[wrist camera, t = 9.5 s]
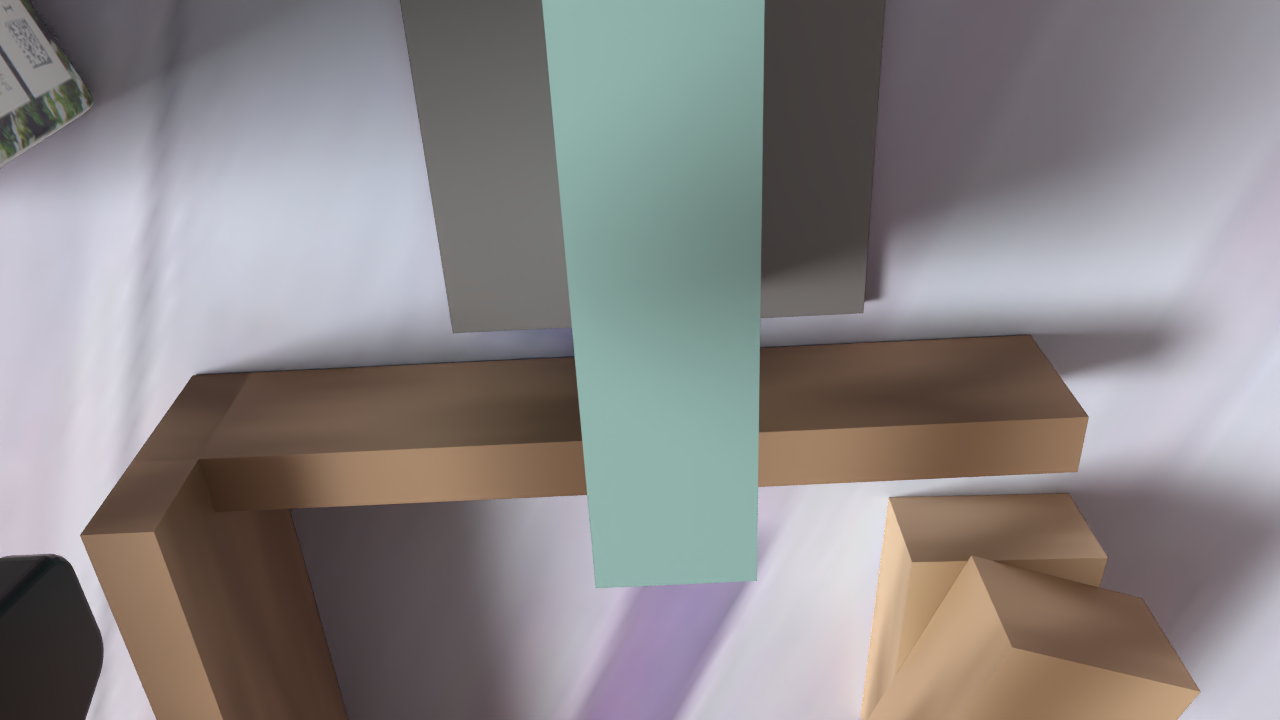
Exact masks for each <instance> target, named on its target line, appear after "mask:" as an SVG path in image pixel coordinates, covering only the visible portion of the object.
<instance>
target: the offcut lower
mask: <svg viewBox="0 0 1280 720" xmlns="http://www.w3.org/2000/svg"><path fill="white" fill-rule="evenodd" d="M971 555H972V556H976V557H980V558H984V559H988V560H992V561H996V562H1000V563H1004V564H1008V565H1012V566H1015V567H1019V568H1023V569H1027V570H1031V571H1035V572H1039V573H1043V574H1047V575H1051V576H1055V577H1059V578H1063V579H1067V580H1071V581H1075V582H1079V583H1083V584H1087V585H1091V586H1095V587H1099V588H1100V585H1101V581H1102V577H1103V574H1104V570H1105V566H1106V563H1107V559H1108V557H1107V555H1106V554H1105V552H1104V550H1103V549H1102V547H1101V546H1100V544H1099V542H1098V541H1097V539H1096V537H1095V536H1094V534H1093V532H1092V531H1091V529H1090V528H1089V526H1088V524H1087V523H1086V521H1085V519H1084V518H1083V516H1082V514H1081V513H1080V511H1079V509H1078V508H1077V506H1076V505H1075V503H1074V501H1073V500H1072V498H1071V496H1070V495H1069V493H1056V494H1014V495H972V496H931V497H889V500H888V507H887V515H886V523H885V530H884V538H883V546H882V554H881V561H880V569H879V577H878V584H877V592H876V600H875V607H874V615H873V623H872V631H871V638H870V646H869V654H868V661H867V669H866V677H865V685H864V692H863V700H862V708H861V719H862V720H868V718H869V717H870V715H871V714H872V712H873V710H874V709H875V707H876V706H877V704H878V703H879V701H880V699H881V698H882V696H883V695H884V693H885V691H886V690H887V688H888V687H889V685H890V684H891V682H892V680H893V679H894V677H895V676H896V674H897V672H898V671H899V669H900V668H901V666H902V665H903V663H904V661H905V660H906V658H907V657H908V655H909V653H910V652H911V650H912V649H913V647H914V646H915V644H916V642H917V641H918V639H919V638H920V636H921V634H922V633H923V631H924V630H925V628H926V627H927V625H928V623H929V622H930V620H931V619H932V617H933V615H934V614H935V612H936V611H937V609H938V607H939V606H940V604H941V603H942V601H943V600H944V598H945V596H946V595H947V593H948V592H949V590H950V588H951V587H952V585H953V584H954V582H955V581H956V579H957V577H958V576H959V574H960V573H961V571H962V569H963V568H964V566H965V565H966V563H967V562H968V560H969V558H970V557H971Z"/></svg>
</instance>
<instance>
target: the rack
mask: <svg viewBox="0 0 1280 720" xmlns="http://www.w3.org/2000/svg"><path fill="white" fill-rule="evenodd" d="M1088 418H1089V417H1088V415H1087V414H1086V412H1085V411H1084V410H1083V408H1082V407H1081V405H1080V404H1079V403H1078V401H1077V400H1076V398H1075V397H1074V396H1073V394H1072V393H1071V391H1070V390H1069V389H1068V387H1067V386H1066V384H1065V383H1064V382H1063V380H1062V379H1061V377H1060V376H1059V375H1058V373H1057V372H1056V370H1055V369H1054V368H1053V366H1052V365H1051V363H1050V362H1049V361H1048V359H1047V358H1046V356H1045V355H1044V354H1043V352H1042V351H1041V349H1040V348H1039V347H1038V345H1037V344H1036V342H1035V341H1034V340H1033V338H1032V337H1031V335H1019V336H999V337H978V338H957V339H937V340H916V341H896V342H875V343H854V344H834V345H813V346H792V347H772V348H760V375H759V448H758V487H765V486H787V485H808V484H829V483H851V482H872V481H893V480H915V479H936V478H957V477H979V476H1000V475H1021V474H1043V473H1064V472H1077V471H1078V466H1079V462H1080V457H1081V452H1082V447H1083V442H1084V437H1085V433H1086V428H1087V423H1088ZM573 495H587V486H586V475H585V464H584V453H583V443H582V432H581V421H580V410H579V399H578V388H577V377H576V366H575V357H565V358H544V359H524V360H503V361H482V362H462V363H441V364H421V365H400V366H379V367H359V368H338V369H317V370H297V371H276V372H255V373H235V374H214V375H193V376H192V377H191V379H190V380H189V382H188V383H187V384H186V386H185V387H184V389H183V390H182V392H181V393H180V394H179V396H178V397H177V399H176V400H175V401H174V403H173V404H172V406H171V407H170V409H169V410H168V411H167V413H166V414H165V416H164V417H163V418H162V420H161V421H160V423H159V424H158V426H157V427H156V428H155V430H154V431H153V433H152V434H151V435H150V437H149V438H148V440H147V441H146V443H145V444H144V445H143V447H142V448H141V450H140V451H139V452H138V454H137V455H136V457H135V458H134V460H133V461H132V462H131V464H130V465H129V467H128V468H127V469H126V471H125V472H124V474H123V475H122V477H121V478H120V479H119V481H118V482H117V484H116V485H115V487H114V488H113V489H112V491H111V492H110V494H109V495H108V496H107V498H106V499H105V501H104V502H103V504H102V505H101V506H100V508H99V509H98V511H97V512H96V513H95V515H94V516H93V518H92V519H91V521H90V522H89V523H88V525H87V526H86V528H85V529H84V530H83V532H82V533H81V535H80V536H81V539H82V541H83V544H84V546H85V548H86V551H87V553H88V556H89V558H90V560H91V563H92V565H93V568H94V570H95V572H96V575H97V577H98V580H99V582H100V584H101V587H102V589H103V592H104V594H105V597H106V599H107V601H108V604H109V606H110V609H111V611H112V613H113V616H114V618H115V621H116V623H117V625H118V628H119V630H120V633H121V635H122V637H123V640H124V642H125V645H126V647H127V649H128V652H129V654H130V657H131V659H132V661H133V664H134V666H135V669H136V671H137V674H138V676H139V678H140V681H141V683H142V686H143V688H144V690H145V693H146V695H147V698H148V700H149V702H150V705H151V707H152V710H153V712H154V714H155V717H156V719H157V720H348V718H347V714H346V711H345V707H344V704H343V700H342V696H341V693H340V689H339V686H338V682H337V678H336V675H335V671H334V668H333V664H332V660H331V657H330V653H329V650H328V646H327V643H326V639H325V635H324V632H323V628H322V625H321V621H320V617H319V614H318V610H317V607H316V603H315V599H314V596H313V592H312V589H311V585H310V581H309V578H308V574H307V571H306V567H305V564H304V560H303V556H302V553H301V549H300V546H299V542H298V538H297V535H296V531H295V528H294V524H293V520H292V517H291V513H290V510H289V509H296V508H317V507H338V506H360V505H381V504H402V503H424V502H445V501H466V500H488V499H509V498H530V497H552V496H573Z"/></svg>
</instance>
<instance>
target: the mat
mask: <svg viewBox="0 0 1280 720" xmlns="http://www.w3.org/2000/svg"><path fill="white" fill-rule="evenodd" d="M400 4H401V10H402V16H403V23H404V29H405V35H406V41H407V48H408V54H409V60H410V67H411V73H412V79H413V85H414V92H415V98H416V104H417V111H418V117H419V123H420V129H421V136H422V142H423V148H424V155H425V161H426V167H427V173H428V180H429V186H430V192H431V198H432V205H433V211H434V217H435V224H436V230H437V236H438V242H439V249H440V255H441V261H442V268H443V274H444V280H445V286H446V293H447V299H448V305H449V312H450V318H451V324H452V330H453V333H465V332H486V331H506V330H527V329H547V328H568V327H572V322H571V312H570V301H569V290H568V279H567V268H566V257H565V246H564V235H563V224H562V213H561V202H560V191H559V180H558V170H557V159H556V148H555V137H554V126H553V115H552V104H551V93H550V82H549V71H548V60H547V49H546V39H545V28H544V17H543V6H542V0H400ZM884 10H885V0H765V8H764V82H763V155H762V228H761V302H760V318H773V317H793V316H814V315H834V314H855V313H863V310H864V296H865V281H866V267H867V253H868V239H869V224H870V210H871V196H872V182H873V167H874V153H875V139H876V125H877V110H878V96H879V82H880V68H881V53H882V39H883V25H884Z"/></svg>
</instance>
